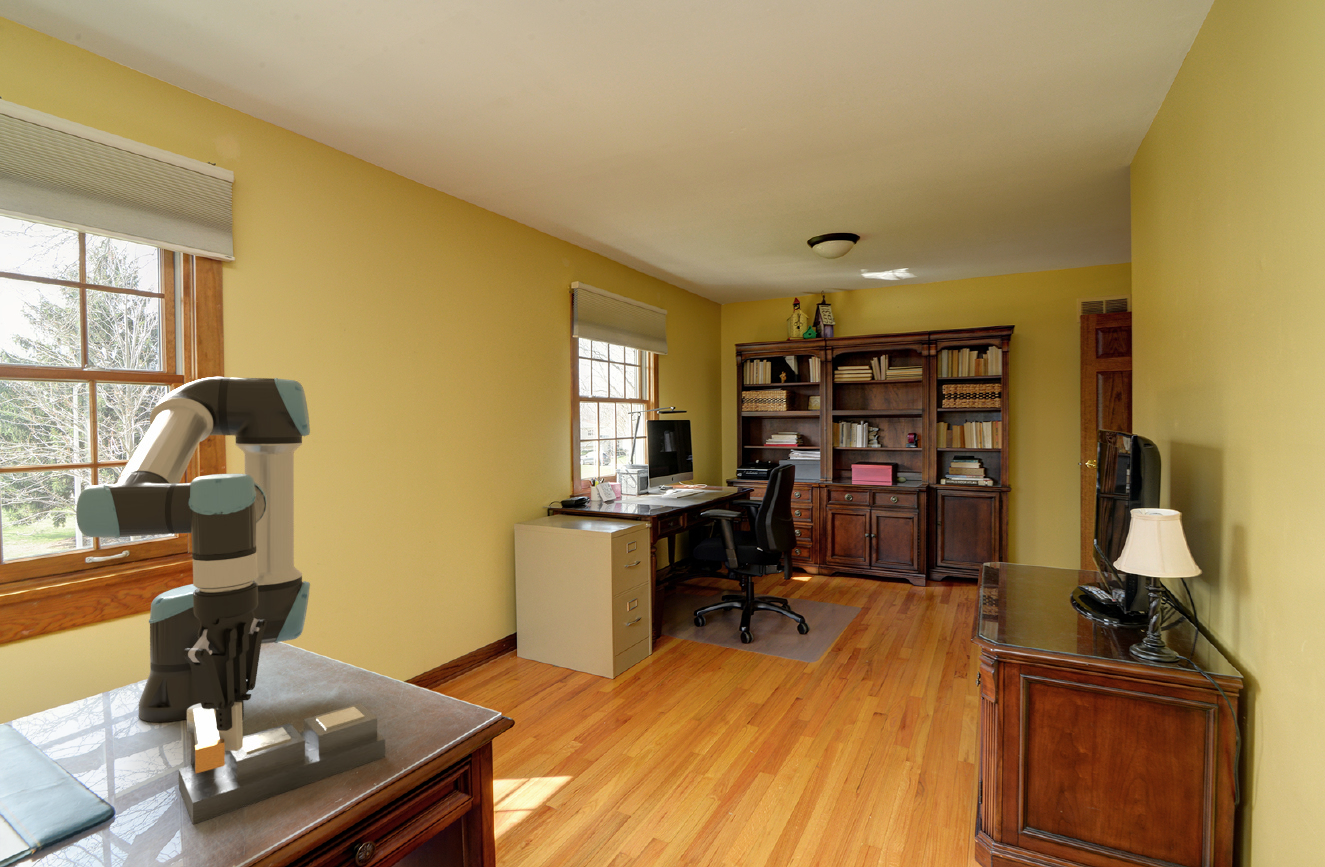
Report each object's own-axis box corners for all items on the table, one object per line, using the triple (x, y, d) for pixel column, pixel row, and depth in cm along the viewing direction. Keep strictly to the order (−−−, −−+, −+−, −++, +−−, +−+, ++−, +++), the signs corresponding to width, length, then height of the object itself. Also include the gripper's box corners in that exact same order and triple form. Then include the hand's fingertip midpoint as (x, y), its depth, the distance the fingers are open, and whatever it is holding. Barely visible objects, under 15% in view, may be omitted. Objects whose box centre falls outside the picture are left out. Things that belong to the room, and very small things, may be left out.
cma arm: (186, 725, 99) (186, 705, 99) (217, 718, 101) (217, 698, 101) (191, 774, 85) (191, 750, 85) (228, 764, 88) (228, 741, 88)
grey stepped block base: (177, 784, 98) (177, 732, 98) (355, 728, 116) (355, 685, 116) (193, 824, 88) (192, 766, 88) (384, 756, 106) (385, 708, 106)
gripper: (235, 572, 96) (239, 724, 98) (162, 597, 84) (168, 772, 85) (281, 573, 96) (286, 727, 97) (215, 598, 83) (221, 775, 84)
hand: (231, 748), depth 91 cm, fingers closed
